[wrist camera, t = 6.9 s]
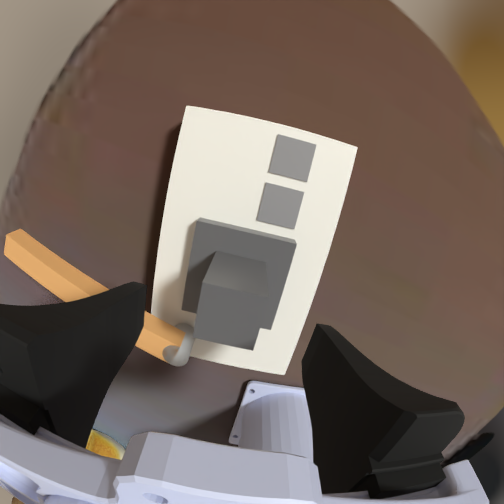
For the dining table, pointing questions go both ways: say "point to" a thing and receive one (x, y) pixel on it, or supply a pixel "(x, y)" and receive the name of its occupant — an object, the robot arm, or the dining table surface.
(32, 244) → the tan wooden plank
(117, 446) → the bread roll
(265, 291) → the plug
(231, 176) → the white flat panel
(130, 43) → the dining table surface
